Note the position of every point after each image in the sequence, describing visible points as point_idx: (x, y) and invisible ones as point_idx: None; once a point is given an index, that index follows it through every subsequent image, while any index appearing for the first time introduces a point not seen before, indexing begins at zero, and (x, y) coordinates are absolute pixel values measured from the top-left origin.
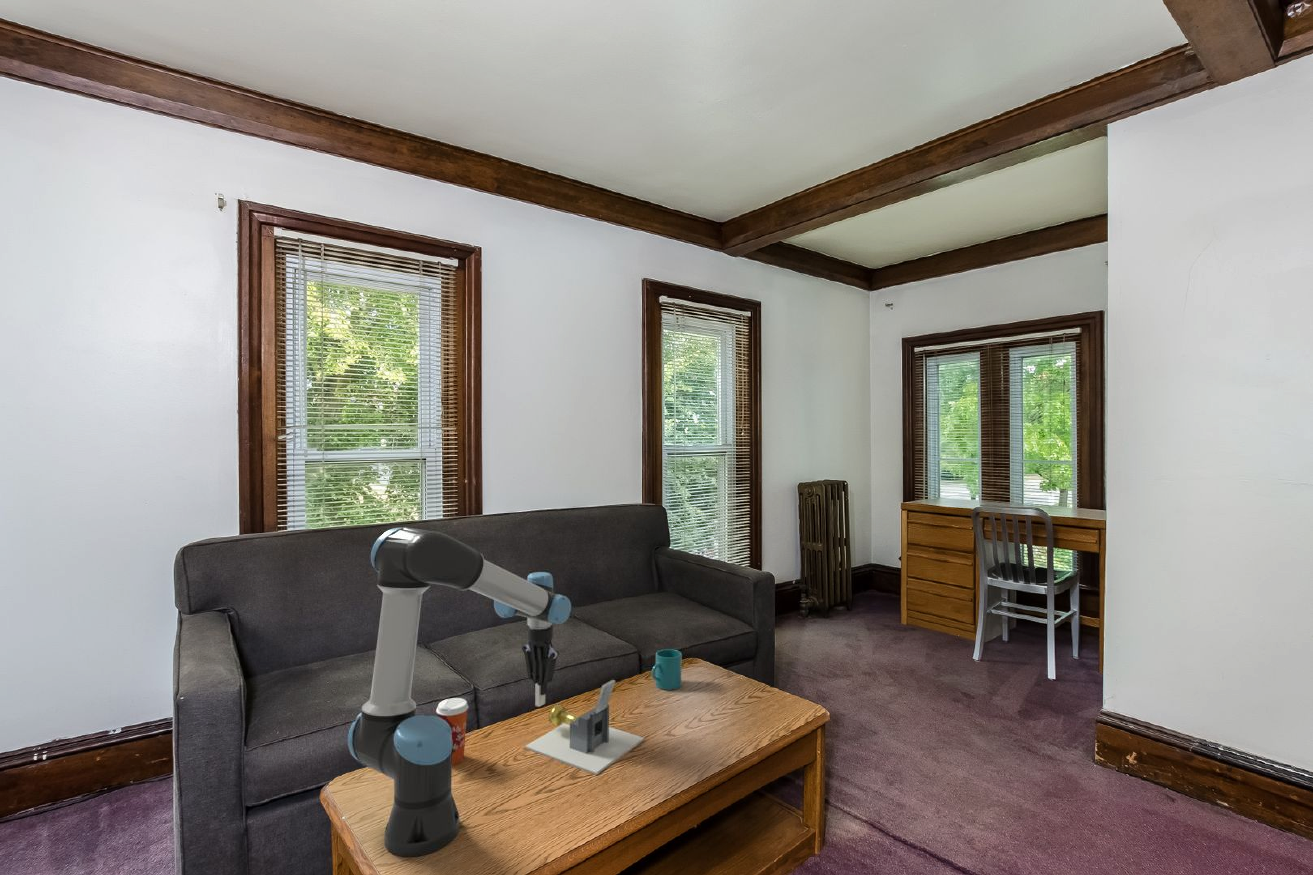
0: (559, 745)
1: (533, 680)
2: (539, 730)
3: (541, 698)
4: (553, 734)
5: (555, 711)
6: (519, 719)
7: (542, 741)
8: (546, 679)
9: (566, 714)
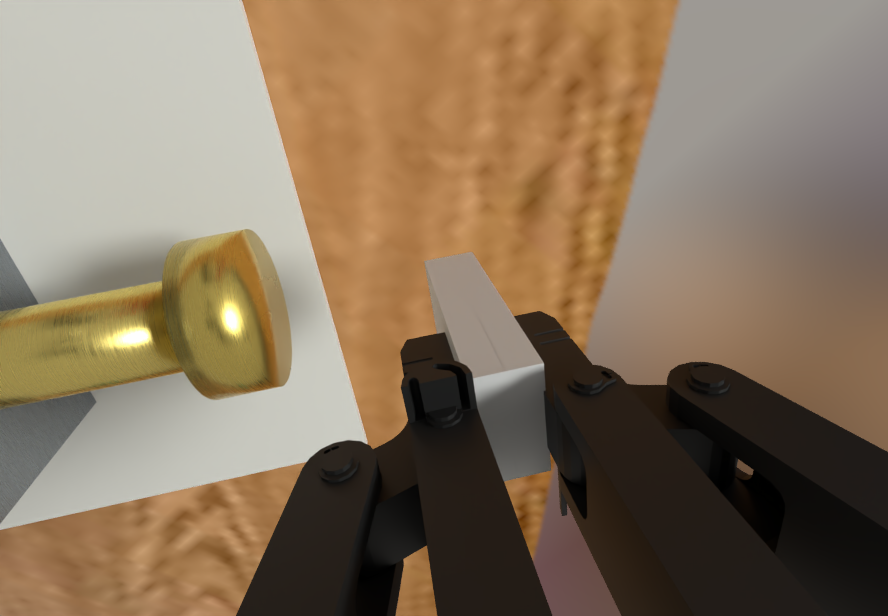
0: (53, 149)
1: (599, 378)
2: (397, 205)
3: (438, 321)
4: (248, 222)
5: (167, 293)
6: (620, 206)
7: (201, 96)
8: (306, 513)
9: (79, 343)
